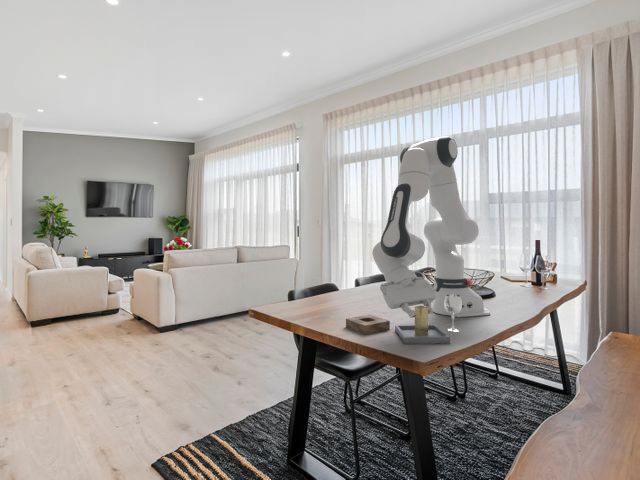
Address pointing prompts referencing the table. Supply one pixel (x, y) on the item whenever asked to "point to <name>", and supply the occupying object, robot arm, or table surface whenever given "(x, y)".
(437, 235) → the robot arm
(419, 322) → the yellow rectangular block
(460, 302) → the wineglass
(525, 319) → the table surface
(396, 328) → the tray
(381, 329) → the block
